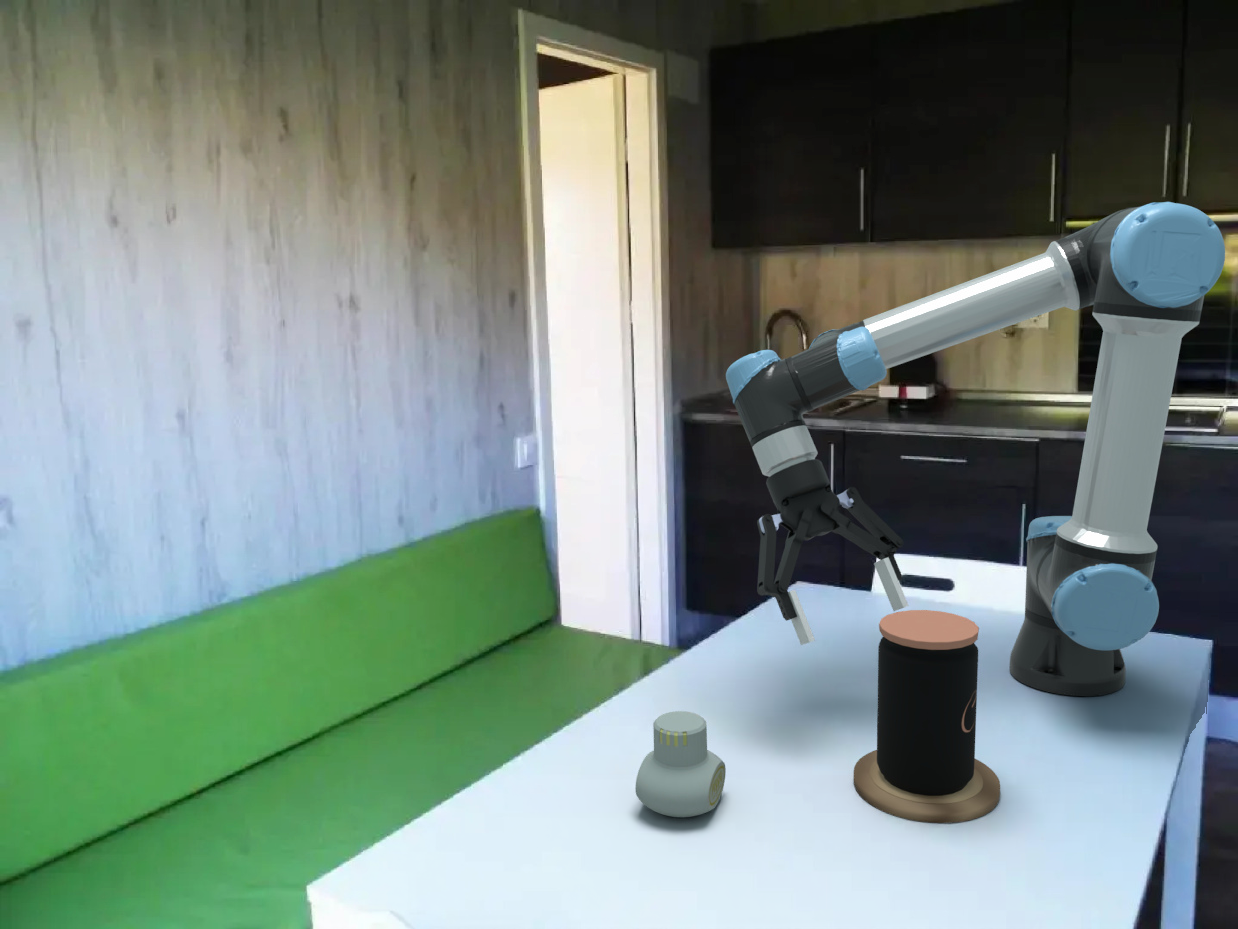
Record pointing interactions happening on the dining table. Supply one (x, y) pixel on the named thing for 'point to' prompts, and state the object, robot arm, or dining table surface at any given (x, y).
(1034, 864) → the dining table surface
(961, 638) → the coffee jar
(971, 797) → the trivet
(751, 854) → the dining table surface
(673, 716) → the air freshener
